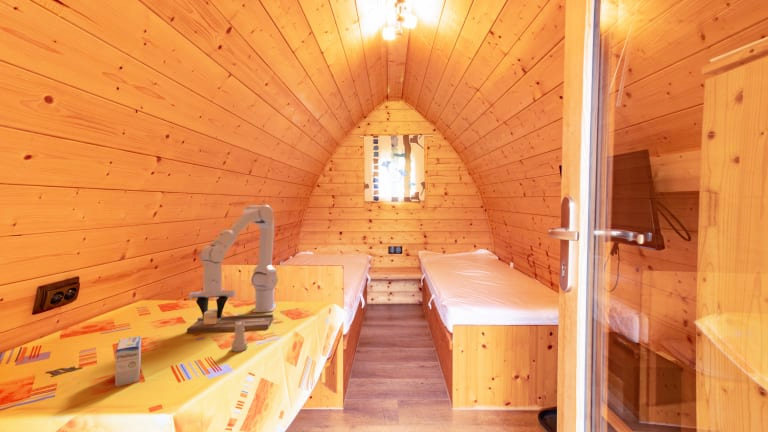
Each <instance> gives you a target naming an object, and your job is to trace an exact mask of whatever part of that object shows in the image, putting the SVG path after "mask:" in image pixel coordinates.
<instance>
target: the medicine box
mask: <svg viewBox="0 0 768 432" xmlns="http://www.w3.org/2000/svg"><path fill="white" fill-rule="evenodd" d="M141 363H142V336H141V335H138V336H130V337H124V338H121V339H119V341H118V344H117V346H116V350H115V370H114V371H115V374H114V375H115V379H114V380H115V383H114V384H115V387H120V386H125V385H129V384H133V383H137V382H139V381H140V372H141V368H142V364H141Z"/></svg>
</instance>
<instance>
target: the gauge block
mask: <svg viewBox="0 0 768 432" xmlns="http://www.w3.org/2000/svg"><path fill="white" fill-rule="evenodd" d="M220 320H221V318H217V308H208V310H207V311H206V312H204V325H207V324H217V323H218V322H219V321H220Z"/></svg>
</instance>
